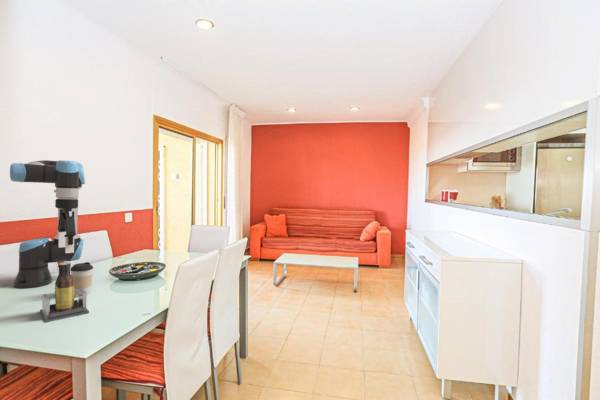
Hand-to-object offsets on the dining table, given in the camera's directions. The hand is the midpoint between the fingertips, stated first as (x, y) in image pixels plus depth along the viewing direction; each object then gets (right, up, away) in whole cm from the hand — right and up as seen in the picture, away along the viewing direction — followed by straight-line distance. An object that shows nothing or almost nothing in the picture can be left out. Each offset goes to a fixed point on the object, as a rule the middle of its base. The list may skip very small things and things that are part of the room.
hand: (65, 249), depth 129 cm
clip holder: (-1, -26, +1) cm, 26 cm away
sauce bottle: (-1, -25, 0) cm, 25 cm away
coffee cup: (-9, -25, +22) cm, 34 cm away
